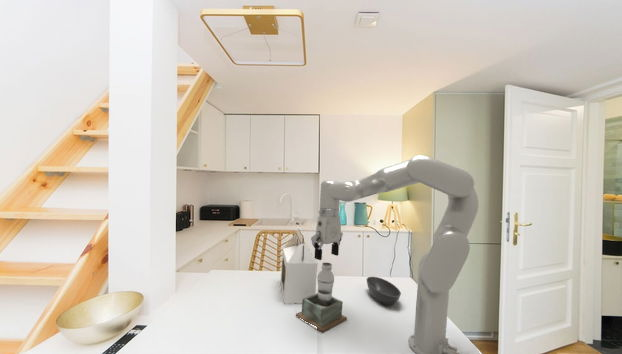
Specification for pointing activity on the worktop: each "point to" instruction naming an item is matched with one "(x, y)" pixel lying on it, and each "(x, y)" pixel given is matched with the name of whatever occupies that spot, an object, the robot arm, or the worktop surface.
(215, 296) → the worktop surface
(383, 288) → the bowl
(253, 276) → the worktop surface
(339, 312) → the bottle holder
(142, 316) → the worktop surface
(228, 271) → the worktop surface
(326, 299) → the silver bottle
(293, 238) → the gable box
